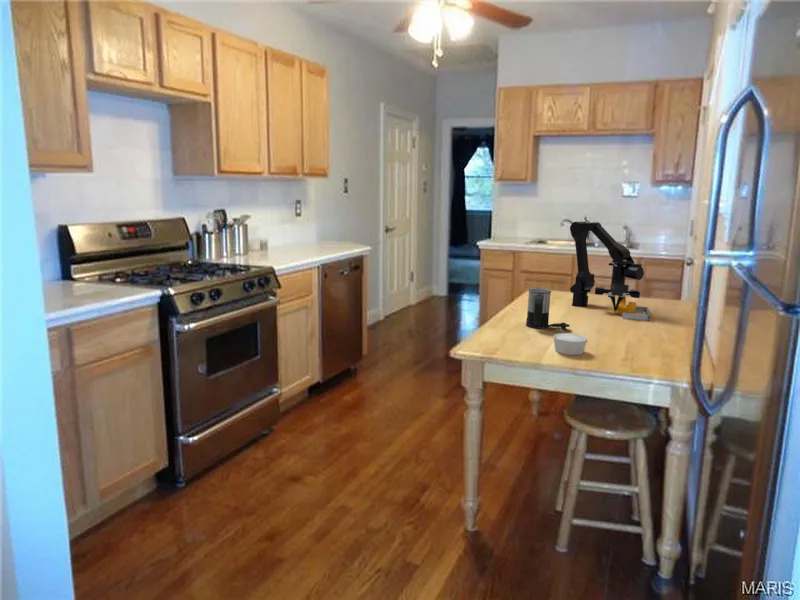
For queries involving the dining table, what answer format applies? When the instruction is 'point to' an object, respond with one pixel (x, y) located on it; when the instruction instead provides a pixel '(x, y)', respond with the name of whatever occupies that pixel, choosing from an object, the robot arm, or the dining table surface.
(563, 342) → the ramekin
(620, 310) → the pipe clamp
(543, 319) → the milk frother
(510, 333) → the dining table surface
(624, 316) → the rail bay
